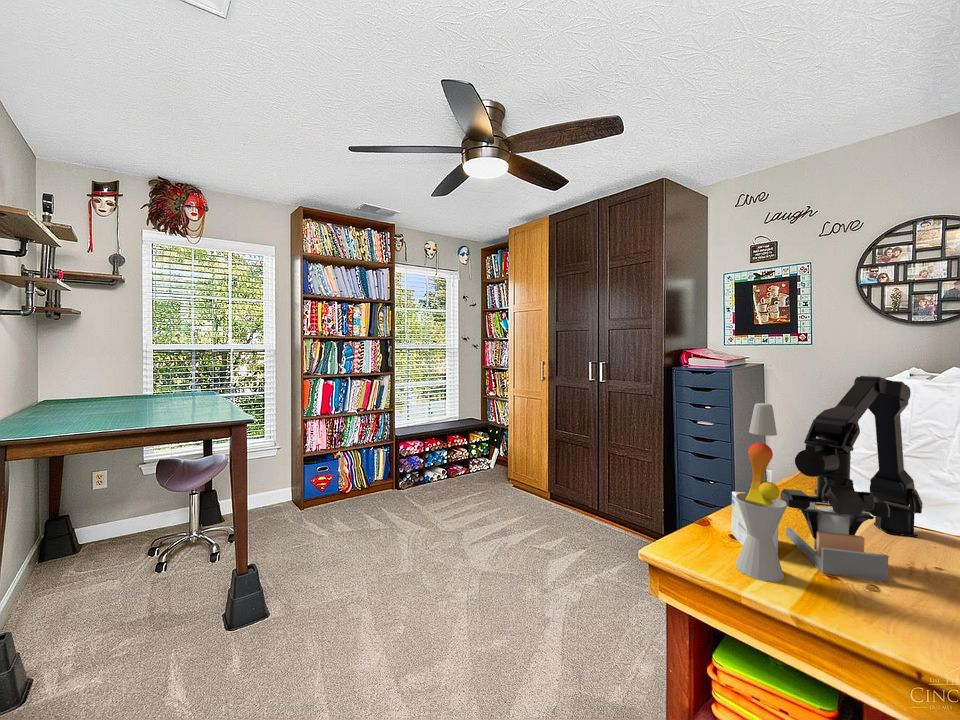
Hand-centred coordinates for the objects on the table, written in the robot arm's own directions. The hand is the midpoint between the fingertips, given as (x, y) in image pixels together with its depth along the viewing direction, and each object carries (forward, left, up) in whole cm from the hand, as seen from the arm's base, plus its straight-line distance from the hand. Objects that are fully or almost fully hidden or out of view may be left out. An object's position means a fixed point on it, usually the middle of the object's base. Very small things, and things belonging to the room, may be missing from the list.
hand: (831, 540), depth 100 cm
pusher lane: (0, 0, -4) cm, 4 cm away
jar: (0, 0, -2) cm, 2 cm away
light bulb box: (+15, -2, -4) cm, 16 cm away
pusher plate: (0, +4, -4) cm, 5 cm away
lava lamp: (+18, +13, -4) cm, 22 cm away
